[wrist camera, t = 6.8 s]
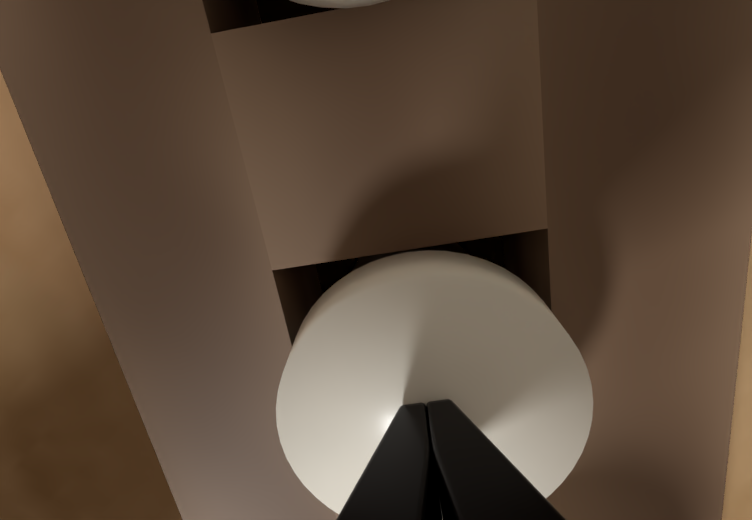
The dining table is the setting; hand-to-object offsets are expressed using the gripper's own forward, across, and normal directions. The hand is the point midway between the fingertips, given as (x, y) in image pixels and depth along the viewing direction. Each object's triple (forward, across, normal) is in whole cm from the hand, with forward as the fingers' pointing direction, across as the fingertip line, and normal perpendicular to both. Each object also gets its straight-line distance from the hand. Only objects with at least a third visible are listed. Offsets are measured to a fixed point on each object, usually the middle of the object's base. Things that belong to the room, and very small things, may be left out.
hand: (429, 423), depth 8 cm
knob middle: (+5, 0, 0) cm, 5 cm away
